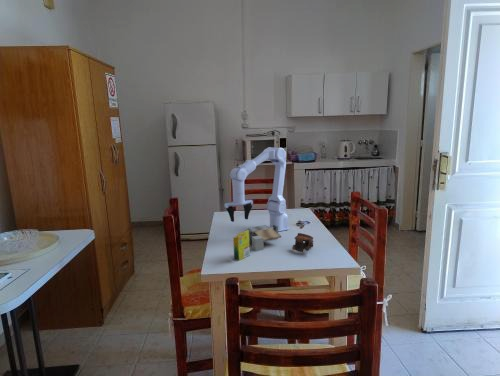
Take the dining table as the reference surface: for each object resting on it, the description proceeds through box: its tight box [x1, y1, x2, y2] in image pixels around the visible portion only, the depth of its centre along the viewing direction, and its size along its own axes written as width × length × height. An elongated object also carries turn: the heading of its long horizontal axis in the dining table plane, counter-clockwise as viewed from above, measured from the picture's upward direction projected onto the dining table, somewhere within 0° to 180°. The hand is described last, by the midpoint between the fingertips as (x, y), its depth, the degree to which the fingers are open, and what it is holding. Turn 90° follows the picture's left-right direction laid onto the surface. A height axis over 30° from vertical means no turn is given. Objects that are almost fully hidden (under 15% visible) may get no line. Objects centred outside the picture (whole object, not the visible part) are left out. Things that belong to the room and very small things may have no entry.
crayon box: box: [232, 229, 250, 261], centre depth 142 cm, size 7×3×12 cm, turn 140°
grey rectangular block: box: [251, 236, 265, 252], centre depth 152 cm, size 4×4×6 cm
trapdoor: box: [247, 224, 282, 242], centre depth 160 cm, size 12×14×3 cm
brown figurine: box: [292, 232, 314, 253], centre depth 149 cm, size 12×9×8 cm
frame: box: [249, 225, 279, 246], centre depth 163 cm, size 16×6×7 cm, turn 118°
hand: (239, 220), depth 163 cm, fingers open, 7 cm apart
